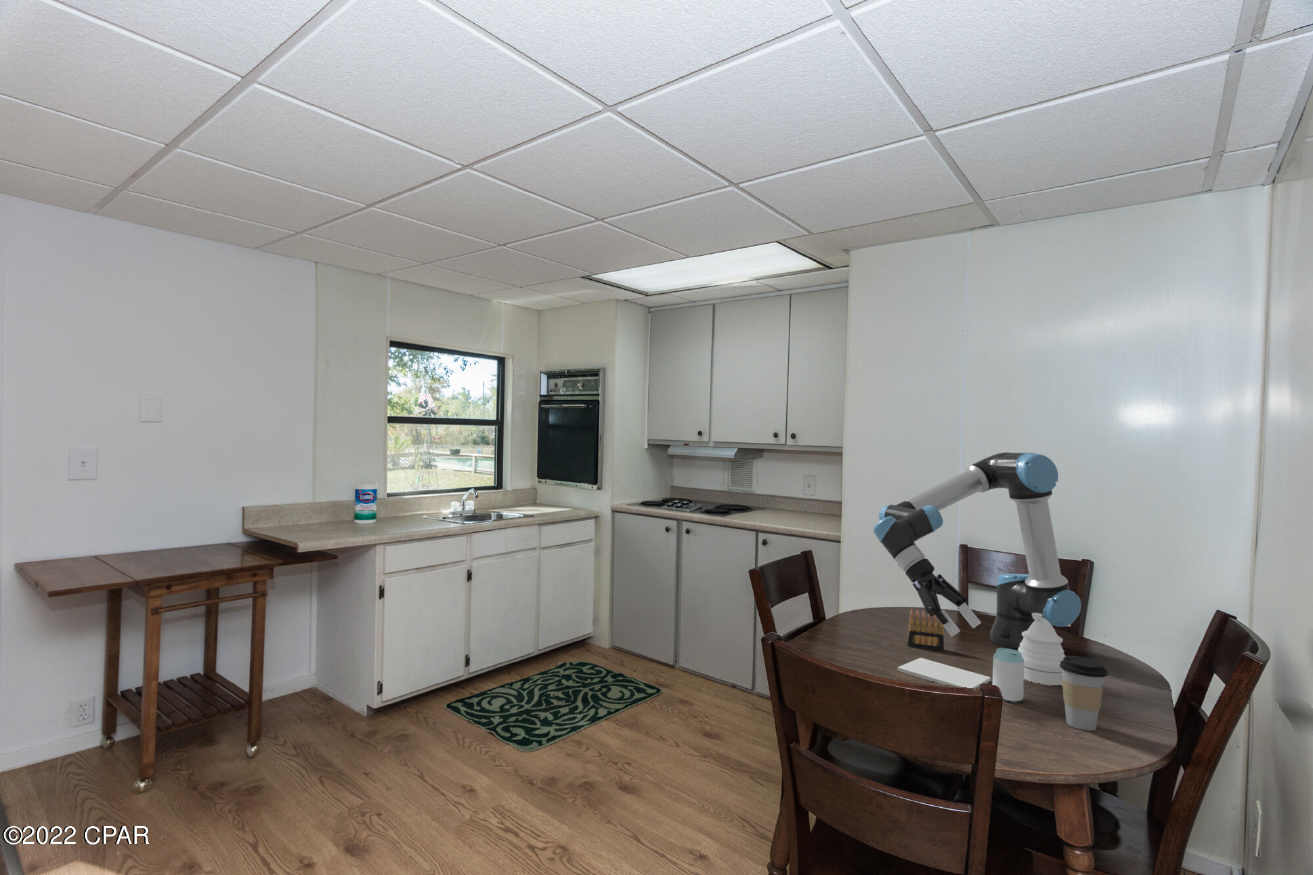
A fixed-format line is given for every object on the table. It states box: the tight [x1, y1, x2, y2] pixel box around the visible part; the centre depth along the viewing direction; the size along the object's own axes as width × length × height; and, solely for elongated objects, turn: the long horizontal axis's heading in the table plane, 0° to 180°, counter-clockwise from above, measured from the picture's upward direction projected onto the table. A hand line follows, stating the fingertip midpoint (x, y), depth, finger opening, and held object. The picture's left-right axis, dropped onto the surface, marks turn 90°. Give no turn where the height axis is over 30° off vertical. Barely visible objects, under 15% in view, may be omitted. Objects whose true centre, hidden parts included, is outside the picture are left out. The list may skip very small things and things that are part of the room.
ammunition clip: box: [906, 608, 945, 652], centre depth 205 cm, size 11×2×12 cm, turn 73°
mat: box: [897, 657, 992, 690], centre depth 180 cm, size 20×14×1 cm
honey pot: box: [1017, 613, 1066, 687], centre depth 182 cm, size 13×13×18 cm
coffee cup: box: [1059, 655, 1109, 732], centre depth 150 cm, size 9×9×15 cm
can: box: [991, 647, 1025, 703], centre depth 165 cm, size 7×7×12 cm
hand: (967, 629), depth 173 cm, fingers open, 13 cm apart
